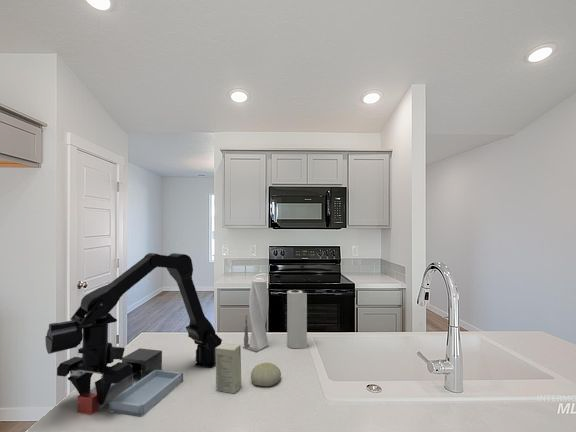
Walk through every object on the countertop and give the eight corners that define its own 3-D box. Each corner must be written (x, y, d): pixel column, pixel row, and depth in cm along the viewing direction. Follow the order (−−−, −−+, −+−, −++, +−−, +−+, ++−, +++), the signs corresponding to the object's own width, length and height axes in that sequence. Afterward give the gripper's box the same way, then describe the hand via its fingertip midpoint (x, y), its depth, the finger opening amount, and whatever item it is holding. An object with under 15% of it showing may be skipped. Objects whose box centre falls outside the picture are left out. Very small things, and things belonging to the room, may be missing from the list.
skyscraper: (257, 341, 131) (257, 272, 132) (273, 346, 126) (273, 274, 127) (242, 348, 124) (243, 274, 125) (258, 353, 119) (259, 276, 120)
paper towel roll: (284, 344, 128) (284, 290, 128) (298, 342, 130) (298, 288, 131) (292, 351, 121) (292, 293, 122) (306, 348, 124) (306, 292, 124)
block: (161, 370, 105) (162, 350, 105) (145, 382, 97) (145, 360, 98) (139, 367, 107) (139, 348, 107) (121, 379, 99) (122, 358, 100)
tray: (183, 381, 98) (183, 372, 98) (141, 416, 80) (141, 406, 80) (155, 377, 100) (155, 369, 100) (108, 411, 82) (108, 401, 82)
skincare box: (241, 386, 95) (242, 344, 95) (234, 394, 91) (234, 350, 91) (222, 383, 97) (222, 342, 97) (214, 390, 93) (214, 347, 93)
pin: (133, 385, 95) (133, 371, 96) (91, 414, 81) (92, 398, 81) (121, 383, 96) (121, 370, 97) (77, 412, 82) (77, 396, 82)
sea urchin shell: (289, 373, 99) (276, 360, 95) (276, 398, 95) (261, 386, 91) (268, 364, 106) (255, 351, 102) (255, 388, 101) (241, 376, 97)
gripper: (146, 334, 90) (145, 391, 90) (91, 329, 95) (90, 383, 94) (116, 349, 80) (115, 414, 79) (55, 343, 84) (54, 404, 84)
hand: (94, 402), depth 84 cm, fingers closed on pin, 4 cm apart
